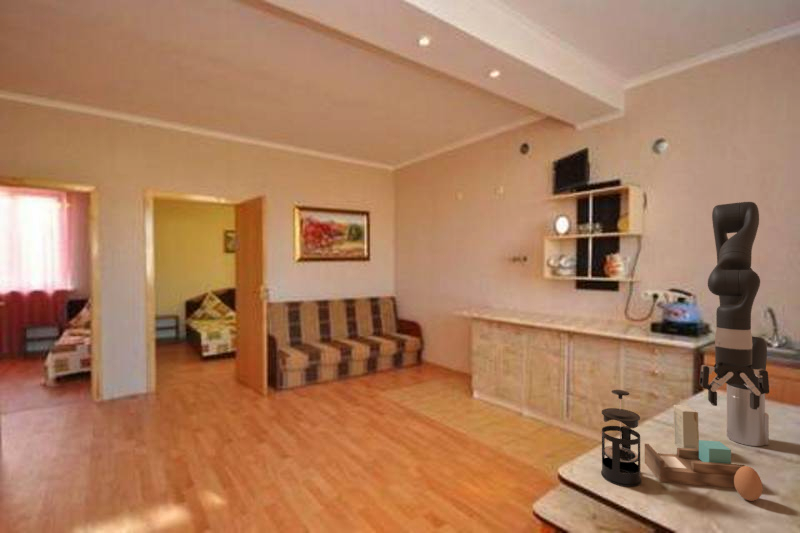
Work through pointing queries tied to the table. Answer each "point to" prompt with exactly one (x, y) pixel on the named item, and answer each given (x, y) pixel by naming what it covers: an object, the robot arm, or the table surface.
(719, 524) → the table surface
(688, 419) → the skincare box
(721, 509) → the table surface
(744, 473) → the egg
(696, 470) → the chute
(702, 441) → the block
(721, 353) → the robot arm
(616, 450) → the french press
